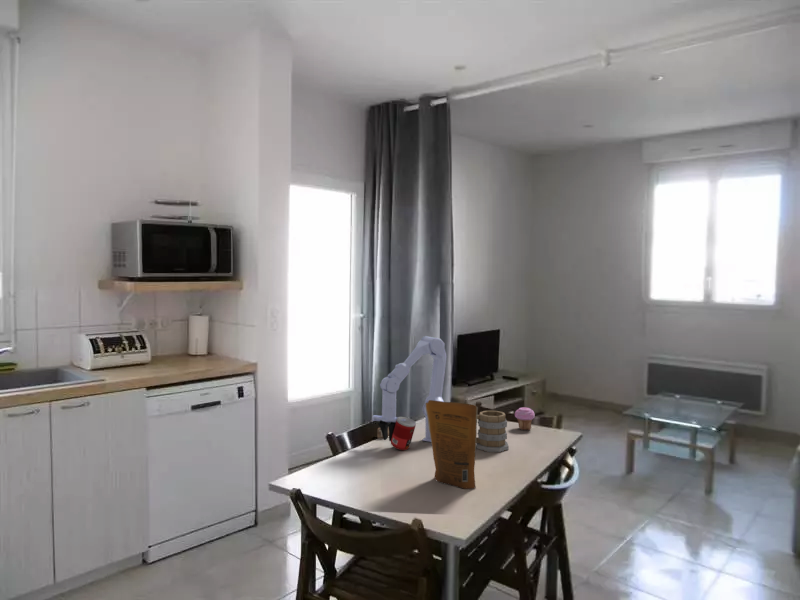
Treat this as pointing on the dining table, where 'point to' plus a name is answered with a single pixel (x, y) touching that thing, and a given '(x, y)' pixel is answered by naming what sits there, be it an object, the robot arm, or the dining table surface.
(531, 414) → the cupcake
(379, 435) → the letter cube
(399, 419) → the canned food
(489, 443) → the tankard
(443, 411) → the pancake mix bag
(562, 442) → the dining table surface
